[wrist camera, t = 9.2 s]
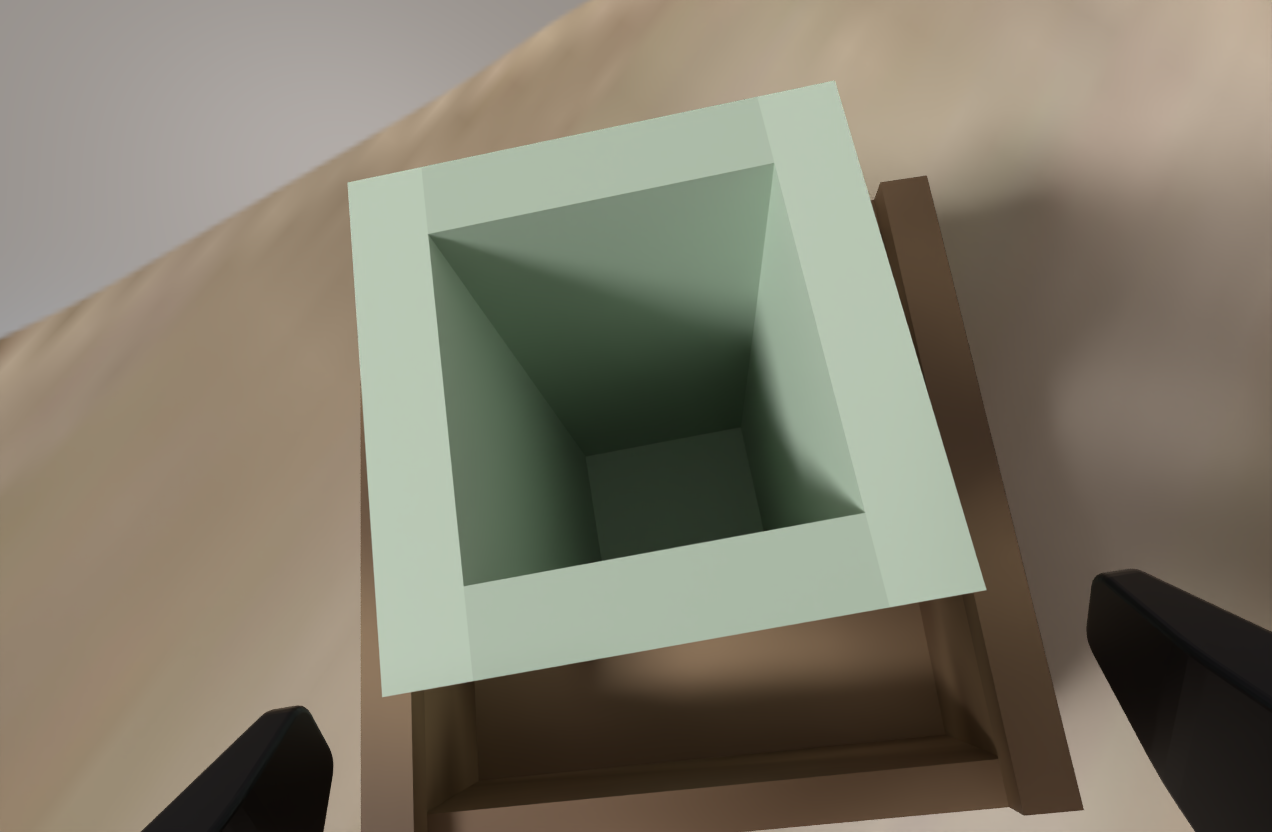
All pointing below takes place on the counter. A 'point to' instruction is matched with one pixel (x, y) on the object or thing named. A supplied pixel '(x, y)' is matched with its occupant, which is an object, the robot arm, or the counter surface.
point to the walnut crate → (760, 678)
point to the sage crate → (640, 396)
